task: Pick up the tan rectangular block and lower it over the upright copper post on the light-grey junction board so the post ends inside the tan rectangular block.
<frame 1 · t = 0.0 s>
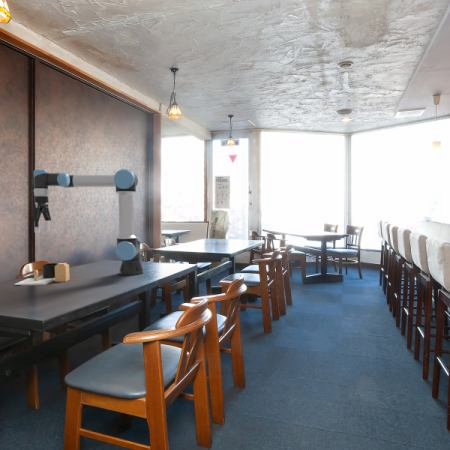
hand: (42, 232, 219), 28 cm above the table, fingers open, 13 cm apart
junction board: (36, 282, 210), on the table
tan rectangular block: (62, 280, 215), on the table
mug: (53, 279, 221), on the table, touching junction board
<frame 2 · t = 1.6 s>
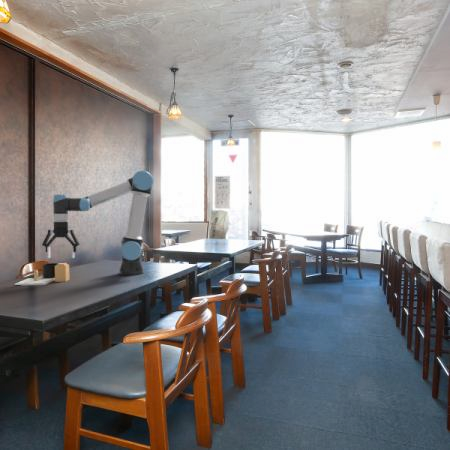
hand: (61, 258, 214), 13 cm above the table, fingers open, 13 cm apart
nothing on the table moved.
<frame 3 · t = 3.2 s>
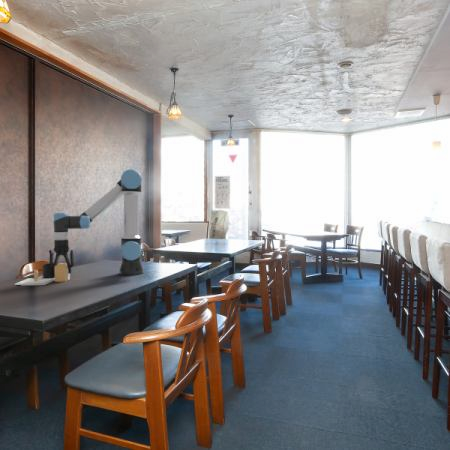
hand: (62, 279, 215), 1 cm above the table, fingers closed on tan rectangular block, 6 cm apart
tan rectangular block: (62, 280, 215), on the table, touching gripper
everything else where it was.
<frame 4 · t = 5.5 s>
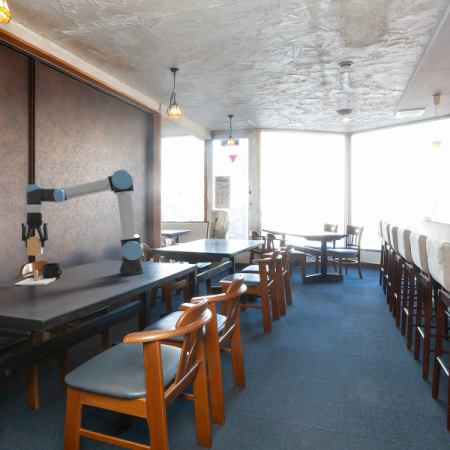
hand: (35, 253, 209), 17 cm above the table, fingers closed on tan rectangular block, 6 cm apart
tan rectangular block: (35, 254, 209), point 16 cm above the table, touching gripper
everything else where it was.
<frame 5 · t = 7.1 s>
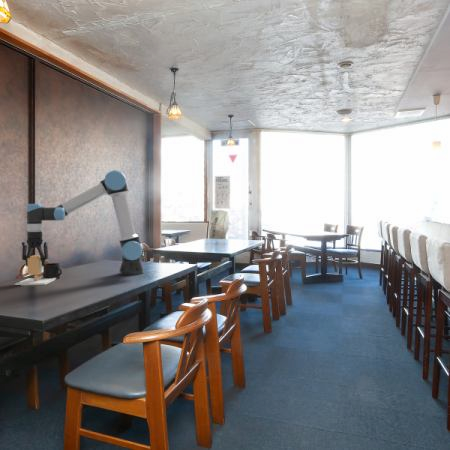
hand: (35, 271, 210), 6 cm above the table, fingers closed on tan rectangular block, 6 cm apart
tan rectangular block: (35, 273, 210), point 5 cm above the table, touching gripper
everything else where it was.
when the fingers open (2 cm above the table, at t = 8.1 s): tan rectangular block stays where it is, resting on junction board.
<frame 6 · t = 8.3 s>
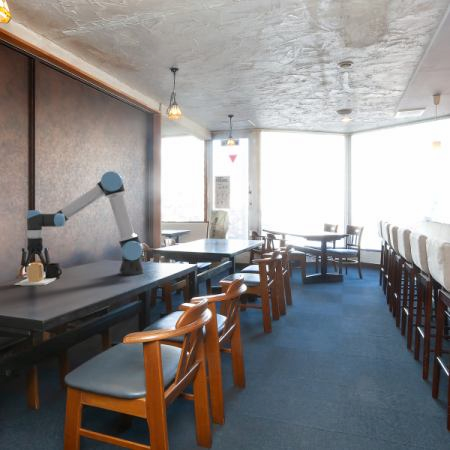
hand: (36, 277, 210), 3 cm above the table, fingers open, 8 cm apart
tan rectangular block: (36, 280, 210), point 1 cm above the table, touching junction board
everything else where it was.
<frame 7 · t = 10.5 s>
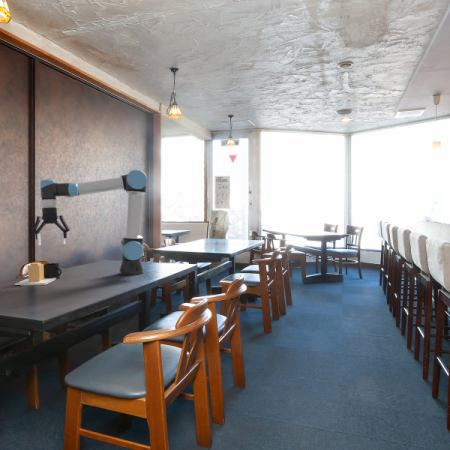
hand: (51, 244, 210), 21 cm above the table, fingers open, 13 cm apart
nothing on the table moved.
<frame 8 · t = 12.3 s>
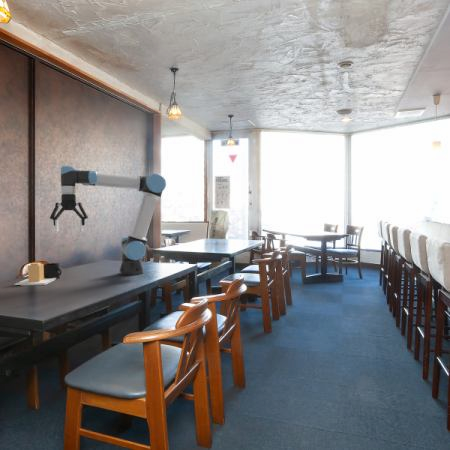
hand: (69, 231, 210), 29 cm above the table, fingers open, 13 cm apart
nothing on the table moved.
at the end: tan rectangular block 0.0 cm off-centre on the junction board, point 1.0 cm above the junction board's base; tan rectangular block tilted 0°; the gripper is holding nothing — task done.
